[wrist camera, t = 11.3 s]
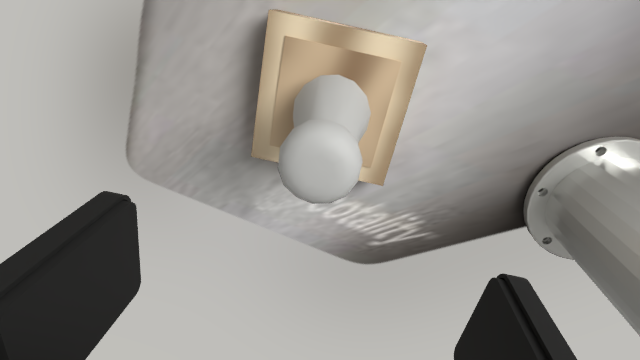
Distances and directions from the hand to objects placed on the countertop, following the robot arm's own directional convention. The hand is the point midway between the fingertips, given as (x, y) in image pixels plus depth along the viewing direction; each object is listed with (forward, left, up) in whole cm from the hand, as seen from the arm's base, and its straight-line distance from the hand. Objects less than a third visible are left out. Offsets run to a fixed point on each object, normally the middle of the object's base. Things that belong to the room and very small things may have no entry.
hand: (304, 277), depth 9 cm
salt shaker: (0, +1, -22) cm, 22 cm away
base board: (+1, +1, -24) cm, 24 cm away
